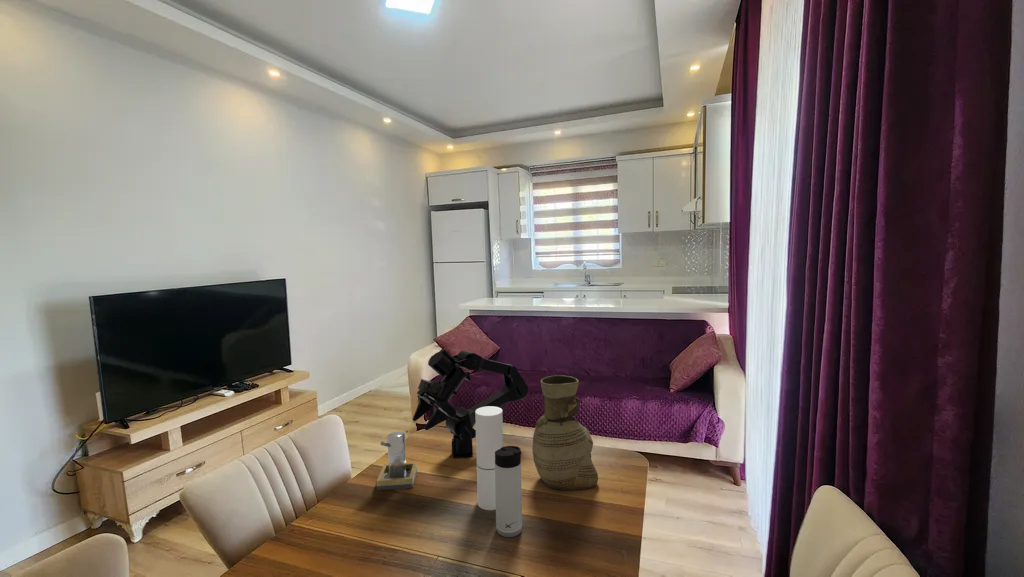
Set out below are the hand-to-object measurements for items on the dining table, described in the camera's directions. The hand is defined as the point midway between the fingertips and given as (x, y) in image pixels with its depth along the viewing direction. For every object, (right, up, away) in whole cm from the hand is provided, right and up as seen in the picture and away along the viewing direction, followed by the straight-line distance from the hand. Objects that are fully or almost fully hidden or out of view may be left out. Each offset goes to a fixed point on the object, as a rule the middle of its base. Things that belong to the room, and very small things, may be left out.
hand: (419, 424), depth 131 cm
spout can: (-6, -13, -8) cm, 16 cm away
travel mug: (+29, -15, -31) cm, 45 cm away
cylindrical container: (+24, -15, -19) cm, 34 cm away
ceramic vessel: (+45, -14, -8) cm, 47 cm away
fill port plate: (-5, -14, -7) cm, 16 cm away
